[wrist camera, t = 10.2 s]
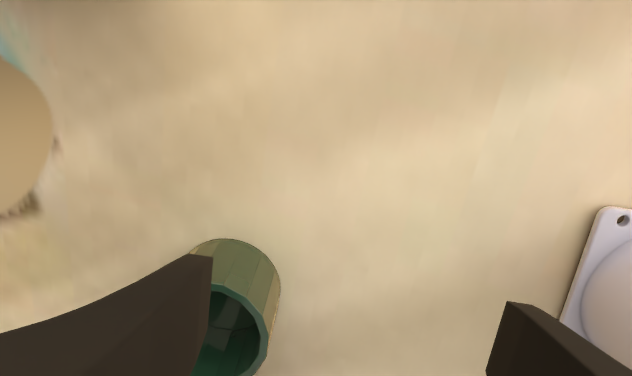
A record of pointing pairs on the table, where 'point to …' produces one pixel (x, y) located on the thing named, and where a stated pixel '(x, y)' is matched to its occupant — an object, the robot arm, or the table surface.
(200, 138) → the table surface
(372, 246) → the table surface
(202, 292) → the robot arm
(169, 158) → the table surface
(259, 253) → the tumbler
